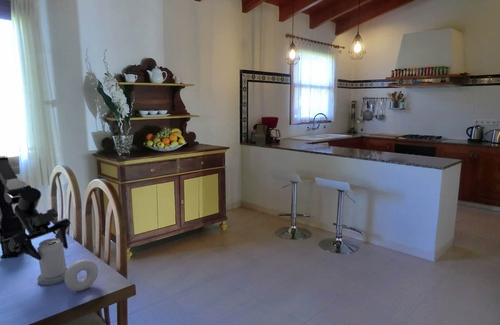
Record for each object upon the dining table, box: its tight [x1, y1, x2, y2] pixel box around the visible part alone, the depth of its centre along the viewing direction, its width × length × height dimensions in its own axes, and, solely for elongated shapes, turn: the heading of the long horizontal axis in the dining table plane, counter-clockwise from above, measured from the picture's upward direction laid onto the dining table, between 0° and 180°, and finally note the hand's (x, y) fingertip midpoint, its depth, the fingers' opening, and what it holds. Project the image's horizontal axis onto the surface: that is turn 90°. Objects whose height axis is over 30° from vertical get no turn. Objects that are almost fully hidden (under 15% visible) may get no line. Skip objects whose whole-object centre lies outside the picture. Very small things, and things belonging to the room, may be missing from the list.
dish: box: [37, 267, 69, 287], centre depth 117 cm, size 10×10×1 cm
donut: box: [64, 258, 99, 292], centre depth 109 cm, size 10×4×10 cm, turn 136°
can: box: [36, 237, 67, 279], centre depth 116 cm, size 8×8×12 cm
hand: (54, 253), depth 114 cm, fingers open, 9 cm apart
